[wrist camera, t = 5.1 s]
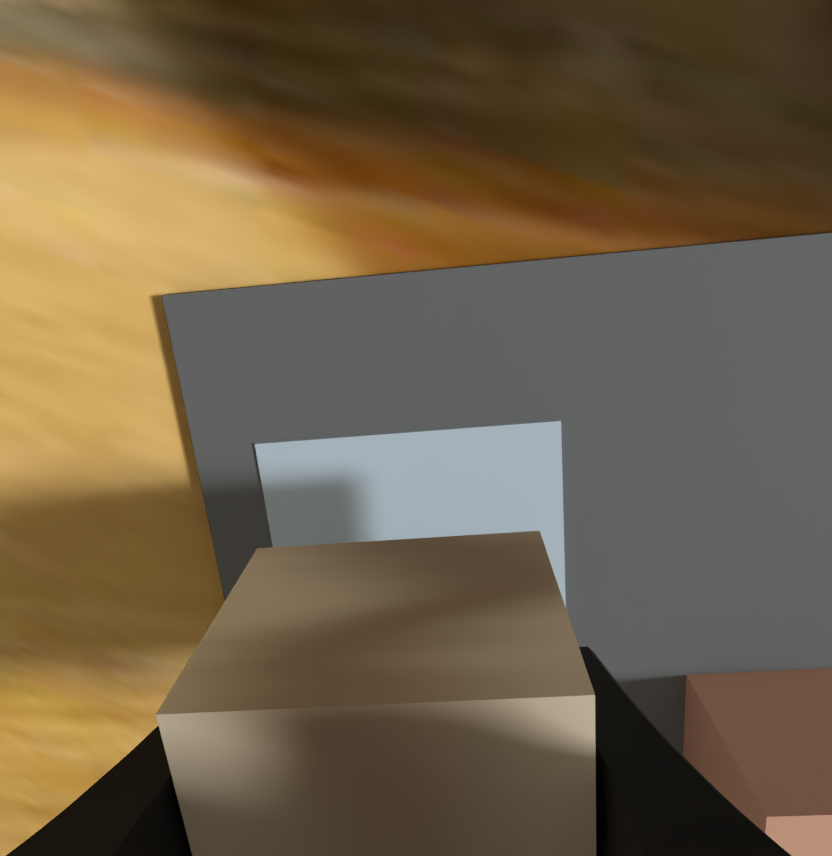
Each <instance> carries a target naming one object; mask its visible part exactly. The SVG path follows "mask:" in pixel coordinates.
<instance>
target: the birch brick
mask: <svg viewBox="0 0 832 856" xmlns="http://www.w3.org/2000/svg"><path fill="white" fill-rule="evenodd" d="M156 718H157V722H158V726H159V729H160V733H161V737H162V741H163V745H164V749H165V752H166V756H167V760H168V764H169V768H170V772H171V776H172V779H173V783H174V787H175V791H176V795H177V799H178V802H179V806H180V810H181V814H182V818H183V822H184V825H185V829H186V833H187V837H188V841H189V845H190V849H191V852H192V856H596V743H595V693H594V690H593V687H592V684H591V681H590V678H589V675H588V672H587V669H586V667H585V664H584V661H583V658H582V655H581V652H580V649H579V646H578V643H577V640H576V637H575V634H574V631H573V628H572V625H571V622H570V619H569V616H568V613H567V610H566V607H565V604H564V601H563V598H562V596H561V593H560V590H559V587H558V584H557V581H556V578H555V575H554V572H553V569H552V566H551V563H550V560H549V557H548V554H547V551H546V548H545V545H544V542H543V539H542V536H541V533H540V531H526V532H510V533H494V534H478V535H462V536H446V537H430V538H414V539H398V540H382V541H366V542H350V543H334V544H319V545H303V546H287V547H271V548H257V549H256V551H255V553H254V554H253V556H252V558H251V559H250V561H249V562H248V564H247V566H246V567H245V569H244V571H243V572H242V574H241V576H240V577H239V579H238V581H237V582H236V584H235V585H234V587H233V589H232V590H231V592H230V594H229V595H228V597H227V599H226V600H225V602H224V603H223V605H222V607H221V608H220V610H219V612H218V613H217V615H216V617H215V618H214V620H213V621H212V623H211V625H210V626H209V628H208V630H207V631H206V633H205V635H204V636H203V638H202V640H201V641H200V643H199V644H198V646H197V648H196V649H195V651H194V653H193V654H192V656H191V658H190V659H189V661H188V662H187V664H186V666H185V667H184V669H183V671H182V672H181V674H180V676H179V677H178V679H177V680H176V682H175V684H174V685H173V687H172V689H171V690H170V692H169V694H168V695H167V697H166V699H165V700H164V702H163V703H162V705H161V707H160V708H159V710H158V712H157V713H156Z"/></svg>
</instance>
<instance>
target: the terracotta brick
mask: <svg viewBox="0 0 832 856" xmlns="http://www.w3.org/2000/svg"><path fill="white" fill-rule="evenodd" d="M683 756H684V757H685V758H686V759H687V760H688V761H689V762H690V763H691V764H692V765H693V766H694V767H695V768H696V769H697V770H698V771H699V772H700V773H701V774H702V775H703V776H704V777H705V778H706V779H707V780H708V781H709V782H710V783H711V784H712V785H713V786H714V787H715V788H716V789H717V790H718V791H719V792H720V793H721V794H722V795H723V796H724V797H725V798H726V799H728V800H729V801H730V802H731V803H732V804H733V805H734V806H735V807H736V808H737V809H738V810H739V811H741V812H742V813H743V814H744V815H745V816H746V817H747V818H748V819H749V820H750V821H752V822H753V823H754V824H755V825H756V826H757V827H759V828H760V829H761V830H762V831H763V832H764V833H765V834H767V835H768V836H769V837H770V838H771V839H772V840H774V841H775V842H776V843H777V844H778V845H779V846H780V847H782V848H783V849H784V850H785V851H786V852H788V853H789V854H790V855H791V856H832V668H822V669H800V670H779V671H757V672H736V673H715V674H693V675H686V697H685V721H684V745H683Z"/></svg>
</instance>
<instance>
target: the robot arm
mask: <svg viewBox="0 0 832 856" xmlns="http://www.w3.org/2000/svg"><path fill="white" fill-rule="evenodd" d="M579 649H580V652H581V655H582V658H583V661H584V664H585V667H586V669H587V672H588V675H589V678H590V681H591V684H592V687H593V690H594V693H595V743H596V856H791V855H790V854H789V853H788V852H786V851H785V850H784V849H783V848H782V847H780V846H779V845H778V844H777V843H776V842H775V841H774V840H772V839H771V838H770V837H769V836H768V835H767V834H765V833H764V832H763V831H762V830H761V829H760V828H759V827H757V826H756V825H755V824H754V823H753V822H752V821H750V820H749V819H748V818H747V817H746V816H745V815H744V814H743V813H742V812H741V811H739V810H738V809H737V808H736V807H735V806H734V805H733V804H732V803H731V802H730V801H729V800H728V799H726V798H725V797H724V796H723V795H722V794H721V793H720V792H719V791H718V790H717V789H716V788H715V787H714V786H713V785H712V784H711V783H710V782H709V781H708V780H707V779H706V778H705V777H704V776H703V775H702V774H701V773H700V772H699V771H698V770H697V769H696V768H695V767H694V766H693V765H692V764H691V763H690V762H689V761H688V760H687V759H686V758H685V757H684V756H683V755H682V754H681V753H680V752H679V751H678V750H677V749H676V748H675V747H674V746H673V745H672V744H671V743H670V741H669V740H668V739H667V738H666V737H665V736H664V735H663V734H662V733H661V732H660V731H659V729H658V728H657V727H656V726H655V725H654V724H653V723H652V722H651V721H650V720H649V719H648V717H647V716H646V715H645V714H644V713H643V712H642V711H641V710H640V708H639V707H638V706H637V705H636V704H635V703H634V701H633V700H632V699H631V698H630V697H629V695H628V694H627V693H626V692H625V691H624V690H623V688H622V687H621V686H620V685H619V683H618V682H617V681H616V680H615V679H614V677H613V676H612V675H611V674H610V672H609V671H608V670H607V668H606V667H605V666H604V665H603V663H602V662H601V661H600V659H599V658H598V657H597V655H596V654H595V653H594V652H593V651H592V650H591V649H590V648H589V647H588V646H586V647H579ZM6 856H192V852H191V849H190V845H189V841H188V837H187V833H186V829H185V825H184V822H183V818H182V814H181V810H180V806H179V802H178V799H177V795H176V791H175V787H174V783H173V779H172V776H171V772H170V768H169V764H168V760H167V756H166V752H165V749H164V745H163V741H162V737H161V733H160V729H159V726H158V727H157V728H155V729H154V730H153V731H152V732H151V733H150V734H149V735H148V736H147V737H146V738H145V739H144V740H143V741H142V742H141V743H140V744H139V745H137V746H136V747H135V748H134V749H133V750H132V751H131V752H130V753H129V754H128V755H127V756H126V757H125V758H123V759H122V760H121V761H120V762H119V763H118V764H117V765H115V766H114V767H113V768H112V769H111V770H110V771H109V772H107V773H106V774H105V775H104V776H103V777H102V778H101V779H99V780H98V781H97V782H96V783H95V784H94V785H93V786H91V787H90V788H89V789H88V790H87V791H86V792H85V793H83V794H82V795H81V796H80V797H79V798H78V799H77V800H75V801H74V802H73V803H72V804H71V805H70V806H69V807H67V808H66V809H65V810H64V811H62V812H61V813H60V814H59V815H58V816H56V817H55V818H54V819H53V820H51V821H50V822H49V823H48V824H46V825H45V826H44V827H43V828H41V829H40V830H39V831H38V832H36V833H35V834H34V835H33V836H31V837H30V838H29V839H27V840H26V841H25V842H24V843H22V844H21V845H20V846H18V847H17V848H16V849H14V850H13V851H12V852H10V853H9V854H8V855H6Z"/></svg>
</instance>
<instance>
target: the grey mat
mask: <svg viewBox="0 0 832 856" xmlns="http://www.w3.org/2000/svg"><path fill="white" fill-rule="evenodd" d="M162 299H163V304H164V309H165V314H166V319H167V324H168V328H169V333H170V338H171V343H172V348H173V352H174V357H175V362H176V367H177V372H178V376H179V381H180V386H181V391H182V396H183V401H184V405H185V410H186V415H187V420H188V425H189V429H190V434H191V439H192V444H193V449H194V453H195V458H196V463H197V468H198V473H199V478H200V482H201V487H202V492H203V497H204V502H205V506H206V511H207V516H208V521H209V526H210V531H211V535H212V540H213V545H214V550H215V555H216V559H217V564H218V569H219V574H220V579H221V583H222V588H223V593H224V598H225V600H226V599H227V597H228V595H229V594H230V592H231V590H232V589H233V587H234V585H235V584H236V582H237V581H238V579H239V577H240V576H241V574H242V572H243V571H244V569H245V567H246V566H247V564H248V562H249V561H250V559H251V558H252V556H253V554H254V553H255V551H256V549H257V548H271V547H287V546H303V545H319V544H334V543H350V542H366V541H382V540H398V539H414V538H430V537H446V536H462V535H478V534H494V533H510V532H526V531H540V533H541V536H542V539H543V542H544V545H545V548H546V551H547V554H548V557H549V560H550V563H551V566H552V569H553V572H554V575H555V578H556V581H557V584H558V587H559V590H560V593H561V596H562V598H563V601H564V604H565V607H566V610H567V613H568V616H569V619H570V622H571V625H572V628H573V631H574V634H575V637H576V640H577V643H578V646H579V647H586V646H588V647H589V648H590V649H591V650H592V651H593V652H594V653H595V654H596V655H597V657H598V658H599V659H600V661H601V662H602V663H603V665H604V666H605V667H606V668H607V670H608V671H609V672H610V674H611V675H612V676H613V677H614V679H615V680H616V681H617V682H618V683H619V685H620V686H621V687H622V688H623V690H624V691H625V692H626V693H627V694H628V695H629V697H630V698H631V699H632V700H633V701H634V703H635V704H636V705H637V706H638V707H639V708H640V710H641V711H642V712H643V713H644V714H645V715H646V716H647V717H648V719H649V720H650V721H651V722H652V723H653V724H654V725H655V726H656V727H657V728H658V729H659V731H660V732H661V733H662V734H663V735H664V736H665V737H666V738H667V739H668V740H669V741H670V743H671V744H672V745H673V746H674V747H675V748H676V749H677V750H678V751H679V752H680V753H681V754H682V755H683V745H684V721H685V697H686V675H693V674H715V673H736V672H757V671H779V670H800V669H822V668H832V232H828V233H817V234H807V235H796V236H785V237H775V238H764V239H753V240H742V241H732V242H721V243H710V244H700V245H689V246H678V247H668V248H657V249H646V250H636V251H625V252H614V253H604V254H593V255H582V256H572V257H561V258H550V259H540V260H529V261H518V262H508V263H497V264H486V265H476V266H465V267H454V268H444V269H433V270H422V271H412V272H401V273H390V274H380V275H369V276H358V277H348V278H337V279H326V280H316V281H305V282H294V283H284V284H273V285H262V286H252V287H241V288H230V289H220V290H209V291H198V292H188V293H177V294H168V295H162Z"/></svg>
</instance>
